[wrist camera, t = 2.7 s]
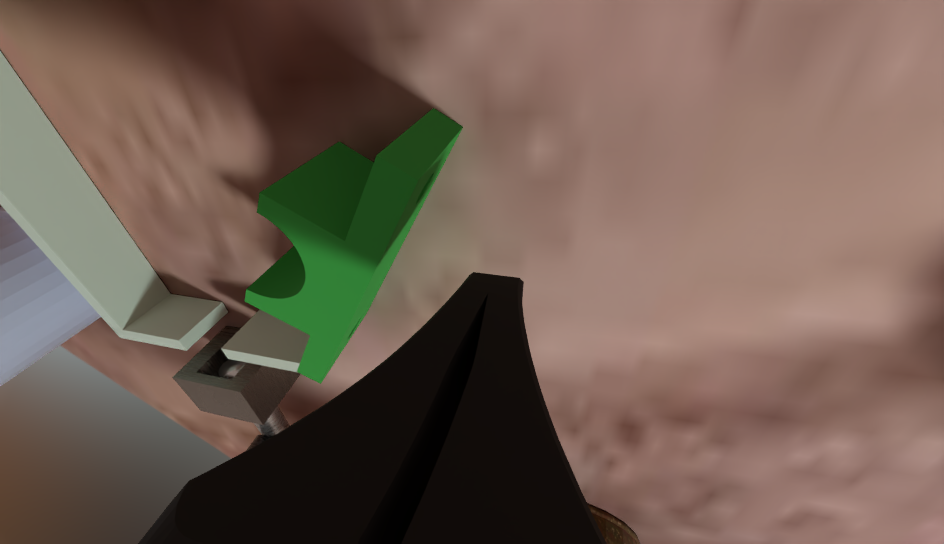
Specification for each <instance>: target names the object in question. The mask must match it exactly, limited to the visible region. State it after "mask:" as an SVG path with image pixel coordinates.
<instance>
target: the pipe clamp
mask: <svg viewBox="0 0 944 544" xmlns="http://www.w3.org/2000/svg"><path fill="white" fill-rule="evenodd" d="M462 128H463V127H462V126H461V125H459V124H458V123H456V122H454V121H453V120H451V119H450V118H448V117H447V116H445V115H444V114H442V113H441V112H439V111H437V110H436V109H434V108H433V109H432V110H430V111H429V112H428V113H427V114H426V115H424V116H423V117H422V118H421V119H420V120H418V121H417V122H416V123H415V124H414V125H412V126H411V127H410V128H409V129H408V130H406V131H405V132H404V133H403V134H402V135H400V136H399V137H398V138H397V139H395V140H394V141H393V142H392V143H391V144H389V145H388V146H387V147H386V148H385V149H383V150H382V151H381V152H380V153H379V154H377V156H376V158H375V161H374V162H372V161H370V160H369V159H367V158H365V157H364V156H362V155H361V154H359V153H357V152H356V151H354V150H352V149H351V148H349V147H347V146H346V145H344V144H342V143H341V142H338V143H336V144H334V145H333V146H331V147H330V148H328V149H327V150H325V151H324V152H322V153H320V154H319V155H317V156H316V157H314V158H313V159H311V160H310V161H308V162H306V163H305V164H303V165H302V166H300V167H299V168H297V169H296V170H294V171H293V172H291V173H289V174H288V175H286V176H285V177H283V178H282V179H280V180H279V181H277V182H275V183H274V184H272V185H271V186H269V187H268V188H266V189H265V190H263V191H261V192H260V193H259V201H258V208H257V213H259V214H260V215H262V216H264V217H265V218H267V219H268V220H269V221H271V222H272V223H273V224H274V225H276V226H277V227H278V228H279V229H280V230H281V231H282V232H283V233H284V234H285V235H286V236H287V237H288V238H289V240H290V241H291V242H292V243H293V245H294V246H293V247H292V248H291V249H290V250H289V251H288V252H287V253H286V254H285V255H284V256H282V257H281V258H280V259H279V260H278V261H277V262H276V263H275V264H274V265H272V266H271V267H270V268H269V269H268V270H267V271H266V272H265V273H264V274H263V275H261V276H260V277H259V278H258V279H257V280H256V281H255V282H254V283H253V284H252V285H250V286H249V287H248V288H247V289H246V295H245V302H247V303H249V304H251V305H253V306H254V307H256V308H258V309H260V310H262V311H264V312H266V313H268V314H270V315H272V316H274V317H276V318H278V319H279V320H281V321H283V322H285V323H287V324H289V325H291V326H293V327H295V328H297V329H299V330H301V331H303V332H304V333H306V334H308V335H310V337H309V340H308V343H307V345H306V348H305V351H304V353H303V356H302V359H301V362H300V364H299V367H298V370H297V372H298V373H300V374H302V375H304V376H306V377H308V378H310V379H312V380H314V381H316V382H318V383H320V384H321V382H322V381H323V379H324V378H325V376H326V375H327V373H328V372H329V370H330V369H331V367H332V366H333V364H334V363H335V361H336V359H337V358H338V356H339V355H340V353H341V352H342V350H343V349H344V347H345V346H346V344H347V343H348V341H349V340H350V338H351V337H352V335H353V333H354V332H355V330H356V329H357V327H358V326H359V324H360V323H361V321H362V320H363V318H364V317H365V315H366V313H367V311H368V310H369V308H370V306H371V304H372V302H373V300H374V298H375V296H376V294H377V292H378V290H379V288H380V286H381V284H382V282H383V281H384V279H385V277H386V275H387V273H388V271H389V269H390V267H391V265H392V263H393V261H394V259H395V257H396V255H397V253H398V252H399V250H400V248H401V246H402V244H403V242H404V240H405V238H406V236H407V234H408V232H409V230H410V228H411V226H412V225H413V223H414V221H415V219H416V217H417V215H418V213H419V211H420V209H421V207H422V205H423V203H424V201H425V199H426V197H427V196H428V194H429V192H430V190H431V188H432V186H433V184H434V182H435V180H436V178H437V176H438V174H439V172H440V170H441V168H442V167H443V165H444V163H445V161H446V159H447V157H448V155H449V153H450V151H451V149H452V147H453V145H454V143H455V141H456V140H457V138H458V136H459V134H460V132H461V130H462Z"/></svg>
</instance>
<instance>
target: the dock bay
mask: <svg viewBox="0 0 944 544" xmlns="http://www.w3.org/2000/svg"><path fill="white" fill-rule="evenodd" d="M0 205H1V206H2V207H3V208H4V209H5V210H6V211H7V213H8V214H9V215H10V216H11V217H12V218H13V219H14V220H15V221H16V223H17V224H18V225H19V226H20V227H21V228H22V229H23V230H24V231H25V233H26V234H27V235H28V236H29V237H30V238H31V239H32V240H33V241H34V243H35V244H36V245H37V246H38V247H39V248H40V249H41V250H42V251H43V253H44V254H45V255H46V256H47V257H48V258H49V259H50V260H51V261H52V263H53V264H54V265H55V266H56V267H57V268H58V269H59V270H60V271H61V273H62V274H63V275H64V276H65V277H66V278H67V279H68V280H69V281H70V283H71V284H72V285H73V286H74V287H75V288H76V289H77V290H78V291H79V293H80V294H81V295H82V296H83V297H84V298H85V299H86V300H87V302H88V303H89V304H90V305H91V306H92V307H93V308H94V309H95V310H96V312H97V313H98V314H99V315H100V316H101V317H102V318H103V319H104V320H105V322H106V323H107V324H108V325H109V326H110V327H111V328H112V329H113V330H114V332H115V333H116V334H117V335H118V336H119V337H120V338H124V339H129V340H134V341H139V342H144V343H150V344H155V345H160V346H165V347H170V348H175V349H180V350H185V351H187V350H188V349H189V348H190V347H191V346H192V345H193V344H194V343H195V342H197V341H198V340H199V339H200V338H201V337H202V336H203V335H204V334H205V333H206V332H207V331H208V330H210V329H211V328H212V327H213V326H214V325H215V324H216V323H217V322H218V321H219V320H220V319H221V318H222V317H224V316H225V315H226V314H227V313H228V311H227V309H226V307H225V306H224V304H223V302H218V301H212V300H206V299H199V298H193V297H187V296H181V295H174V294H170V292H169V291H168V289H167V288H166V287H165V285H164V284H163V282H162V281H161V280H160V278H159V277H158V275H157V274H156V272H155V271H154V270H153V268H152V267H151V265H150V264H149V262H148V261H147V260H146V258H145V257H144V255H143V254H142V252H141V251H140V250H139V248H138V247H137V245H136V244H135V242H134V241H133V240H132V238H131V237H130V235H129V234H128V232H127V231H126V230H125V228H124V227H123V225H122V224H121V222H120V221H119V220H118V218H117V217H116V215H115V214H114V212H113V211H112V210H111V208H110V207H109V205H108V204H107V202H106V201H105V200H104V198H103V197H102V195H101V194H100V192H99V191H98V190H97V188H96V187H95V185H94V184H93V182H92V181H91V180H90V178H89V177H88V175H87V174H86V172H85V171H84V170H83V168H82V167H81V165H80V164H79V163H78V161H77V160H76V158H75V157H74V155H73V154H72V153H71V151H70V150H69V148H68V147H67V145H66V144H65V143H64V141H63V140H62V138H61V137H60V135H59V134H58V133H57V131H56V130H55V128H54V127H53V125H52V124H51V123H50V121H49V120H48V118H47V117H46V115H45V114H44V113H43V111H42V110H41V108H40V107H39V105H38V104H37V103H36V101H35V100H34V98H33V97H32V95H31V94H30V93H29V91H28V90H27V88H26V87H25V85H24V84H23V83H22V81H21V80H20V78H19V77H18V75H17V74H16V73H15V71H14V70H13V68H12V67H11V65H10V64H9V63H8V61H7V60H6V58H5V57H4V55H3V54H2V53H1V51H0ZM309 337H310V335H308V334H306V333H304V332H303V331H301V330H299V329H297V328H295V327H293V326H291V325H289V324H287V323H285V322H283V321H281V320H279V319H278V318H276V317H274V316H272V315H270V314H268V313H266V312H264V311H262V310H259V311H258V312H257V313H256V314H255V315H254V316H253V317H252V318H251V319H250V320H249V321H248V322H247V323H246V324H245V325H244V326H243V327H242V328H241V329H240V330H239V331H238V332H237V333H236V334H235V335H234V336H233V337H232V338H231V339H230V340H229V341H228V342H227V343H226V344H225V345H224V346H223V347H222V348H221V349H222V351H223V352H224V354H225V355H226V357H227V358H228V359H232V360H237V361H242V362H247V363H252V364H257V365H263V366H268V367H273V368H278V369H283V370H288V371H293V372H297V370H298V367H299V364H300V362H301V359H302V356H303V353H304V351H305V348H306V345H307V343H308V340H309Z"/></svg>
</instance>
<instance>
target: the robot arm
mask: <svg viewBox="0 0 944 544" xmlns="http://www.w3.org/2000/svg"><path fill="white" fill-rule="evenodd" d="M523 283H524V282H523V281H522V280H521V279H520V278H515V277H507V276H499V275H491V274H483V273H475V272H473V273H472V274H471V275H469V277H468V278H467V279H466V280H465V281H464V283H463V284H462V285H461V286H460V287H459V289H458V290H457V291H456V292H455V293H454V294H453V295H452V296H451V298H450V299H449V300H448V301H447V302H446V303H445V304H444V305H443V306H442V307H441V308H440V309H439V310H438V312H437V313H436V314H435V315H434V316H433V317H432V318H431V319H430V320H429V321H428V322H427V323H426V324H425V325H424V326H423V327H422V328H421V329H420V330H419V331H417V332H416V333H415V334H414V335H413V336H412V337H411V338H410V339H409V340H408V341H407V342H406V343H404V344H403V345H402V346H401V347H400V348H399V349H398V350H397V351H396V352H394V353H393V354H392V355H391V356H390V357H388V358H387V359H386V360H385V361H384V362H382V363H381V364H380V365H379V366H377V367H376V368H375V369H374V370H372V371H371V372H370V373H368V374H367V375H366V376H365V377H363V378H362V379H360V380H359V381H358V382H356V383H355V384H353V385H352V386H351V387H349V388H348V389H347V390H345V391H344V392H342V393H341V394H340V395H338V396H337V397H335V398H334V399H332V400H331V401H329V402H328V403H326V404H325V405H323V406H322V407H320V408H319V409H317V410H315V411H314V412H312V413H311V414H309V415H307V416H306V417H304V418H302V419H301V420H299V421H297V422H296V423H294V424H293V425H291V426H289V427H288V428H286V429H284V430H283V431H281V432H279V433H278V434H276V435H274V436H273V437H271V438H269V439H267V440H266V441H264V442H262V443H260V444H259V445H257V446H255V447H253V448H251V449H249V450H247V451H245V452H243V453H242V454H240V455H238V456H236V457H234V458H232V459H230V460H228V461H226V462H225V463H223V464H221V465H219V466H217V467H215V468H213V469H211V470H210V471H208V472H206V473H204V474H202V475H200V476H198V477H196V478H194V479H192V480H190V481H189V482H188V483H187V484H186V485H185V486H184V487H183V489H182V490H181V491H180V492H179V493H178V495H177V496H176V497H175V498H174V499H173V500H172V502H171V503H170V504H169V505H168V507H167V508H166V509H165V510H164V512H163V513H162V514H161V515H160V517H159V518H158V519H157V520H156V522H155V523H154V524H153V526H152V527H151V528H150V529H149V531H148V532H147V533H146V534H145V536H144V537H143V538H142V539H141V541H140V542H139V543H138V544H607V543H606V541H605V539H604V537H603V535H602V533H601V531H600V529H599V527H598V525H597V523H596V521H595V519H594V517H593V515H592V513H591V511H590V509H589V506H588V504H587V502H586V500H585V498H584V496H583V494H582V492H581V490H580V487H579V485H578V483H577V481H576V478H575V476H574V474H573V471H572V469H571V467H570V464H569V462H568V460H567V457H566V455H565V453H564V451H563V448H562V446H561V444H560V441H559V439H558V436H557V434H556V431H555V428H554V426H553V423H552V420H551V418H550V415H549V412H548V409H547V407H546V404H545V401H544V398H543V395H542V392H541V389H540V386H539V382H538V379H537V376H536V372H535V368H534V365H533V361H532V357H531V353H530V349H529V345H528V339H527V334H526V329H525V324H524V317H523V307H522V296H523ZM100 317H101V316H100V315H99V314H98V313H97V312H96V310H95V309H94V308H93V307H92V306H91V305H90V304H89V303H88V302H87V300H86V299H85V298H84V297H83V296H82V295H81V294H80V293H79V291H78V290H77V289H76V288H75V287H74V286H73V285H72V284H71V283H70V281H69V280H68V279H67V278H66V277H65V276H64V275H63V274H62V273H61V271H60V270H59V269H58V268H57V267H56V266H55V265H54V264H53V263H52V261H51V260H50V259H49V258H48V257H47V256H46V255H45V254H44V253H43V251H42V250H41V249H40V248H39V247H38V246H37V245H36V244H35V243H34V241H33V240H32V239H31V238H30V237H29V236H28V235H27V234H26V233H25V231H24V230H23V229H22V228H21V227H20V226H19V225H18V224H17V223H16V221H15V220H14V219H13V218H12V217H11V216H10V215H9V214H8V213H7V211H6V210H5V209H4V208H3V207H0V386H2V385H3V384H4V383H6V382H7V381H9V380H10V379H12V378H13V377H14V376H16V375H17V374H19V373H20V372H22V371H23V370H25V369H26V368H27V367H29V366H31V365H32V364H33V363H35V362H36V361H38V360H39V359H40V358H42V357H44V356H45V355H46V354H48V353H49V352H51V351H52V350H54V349H55V348H56V347H58V346H60V345H61V344H62V343H64V342H65V341H67V340H68V339H70V338H71V337H73V336H74V335H75V334H77V333H78V332H80V331H81V330H83V329H84V328H86V327H87V326H89V325H90V324H91V323H93V322H94V321H96V320H97V319H99V318H100Z"/></svg>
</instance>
